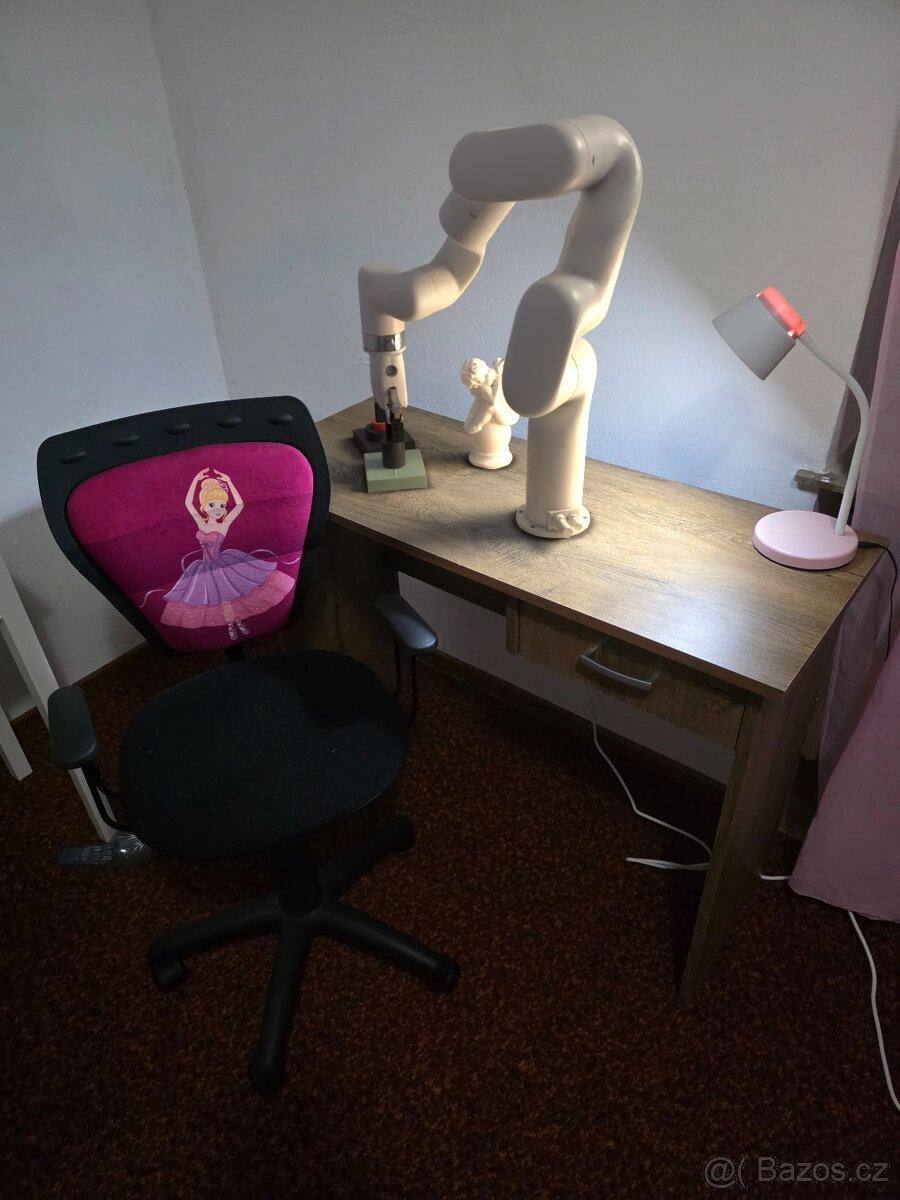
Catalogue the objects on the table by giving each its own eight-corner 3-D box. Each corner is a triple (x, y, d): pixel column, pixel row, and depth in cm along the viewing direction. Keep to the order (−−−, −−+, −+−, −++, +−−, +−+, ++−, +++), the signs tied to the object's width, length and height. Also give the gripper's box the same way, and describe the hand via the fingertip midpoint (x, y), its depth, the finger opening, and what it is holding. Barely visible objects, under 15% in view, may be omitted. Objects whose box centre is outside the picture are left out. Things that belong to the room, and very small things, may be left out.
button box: (415, 450, 163) (414, 432, 161) (368, 459, 160) (367, 441, 158) (398, 431, 172) (396, 413, 169) (353, 439, 169) (351, 421, 166)
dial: (406, 467, 151) (405, 441, 148) (383, 469, 150) (381, 443, 147) (404, 458, 154) (402, 432, 151) (381, 460, 154) (379, 434, 151)
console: (427, 487, 150) (426, 474, 148) (368, 492, 149) (367, 480, 147) (420, 460, 159) (419, 448, 158) (365, 465, 158) (363, 452, 157)
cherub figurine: (457, 466, 157) (454, 354, 144) (473, 440, 166) (472, 334, 154) (518, 472, 154) (520, 359, 141) (531, 446, 163) (534, 337, 151)
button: (395, 430, 163) (394, 422, 162) (376, 433, 162) (375, 425, 161) (388, 423, 166) (388, 415, 165) (370, 426, 165) (369, 418, 164)
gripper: (416, 353, 133) (420, 448, 143) (394, 323, 147) (398, 412, 157) (372, 358, 131) (379, 453, 141) (353, 327, 145) (361, 416, 155)
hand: (389, 431), depth 149 cm, fingers open, 9 cm apart
